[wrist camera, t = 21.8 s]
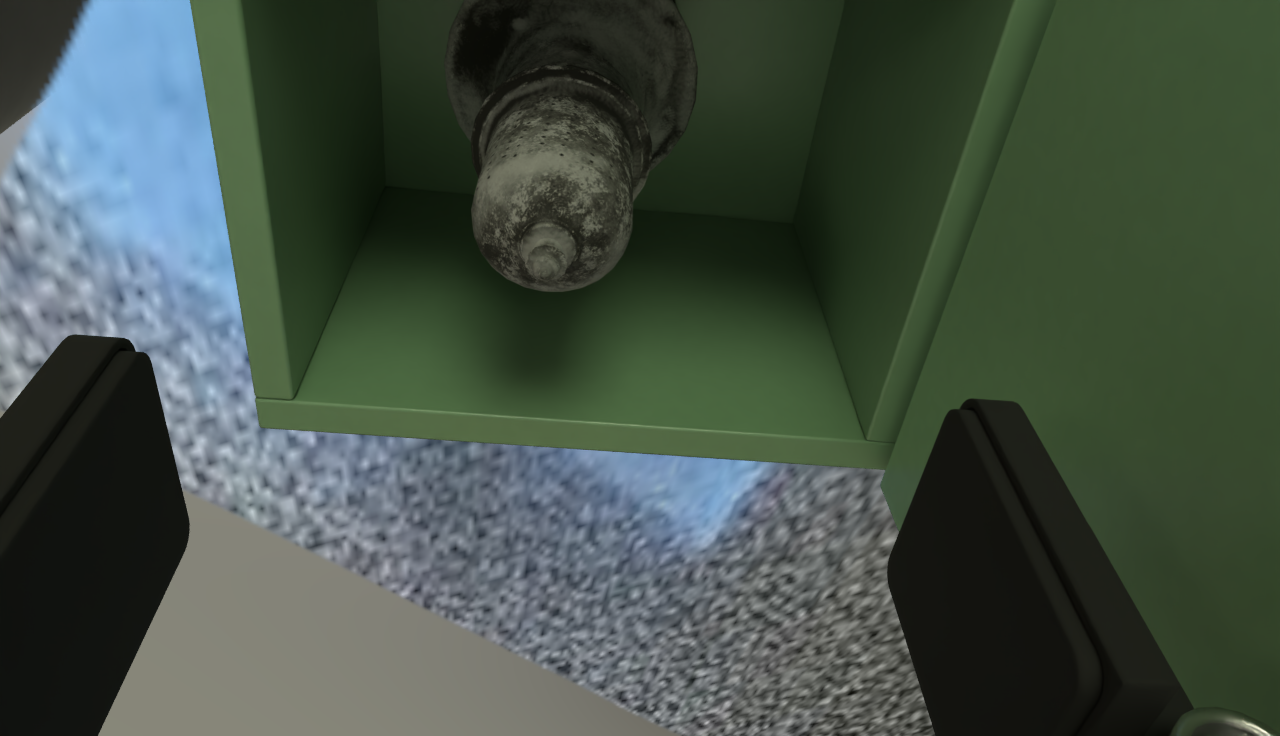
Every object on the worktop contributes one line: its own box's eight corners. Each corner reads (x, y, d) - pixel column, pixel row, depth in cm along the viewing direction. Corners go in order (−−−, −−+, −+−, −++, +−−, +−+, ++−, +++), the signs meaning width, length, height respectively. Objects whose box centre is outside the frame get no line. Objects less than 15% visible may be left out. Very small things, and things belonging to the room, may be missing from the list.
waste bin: (365, 195, 28) (258, 428, 20) (336, -267, 21) (150, -223, 13) (808, 235, 29) (891, 471, 21) (913, -190, 23) (1102, -102, 14)
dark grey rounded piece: (697, 125, 26) (735, 401, 17) (491, 146, 27) (411, 427, 17) (681, -105, 23) (716, 81, 13) (442, -76, 23) (308, 124, 14)
